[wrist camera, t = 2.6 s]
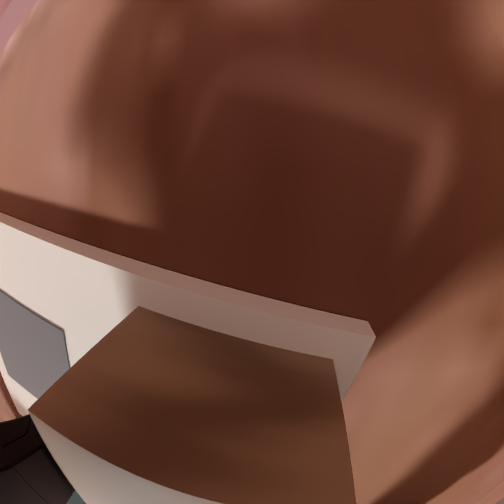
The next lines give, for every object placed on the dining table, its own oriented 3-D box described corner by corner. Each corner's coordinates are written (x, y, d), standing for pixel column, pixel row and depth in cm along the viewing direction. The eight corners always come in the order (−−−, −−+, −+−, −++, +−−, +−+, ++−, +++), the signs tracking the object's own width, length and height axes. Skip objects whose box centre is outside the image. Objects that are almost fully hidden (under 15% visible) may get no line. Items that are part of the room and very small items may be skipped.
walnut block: (332, 359, 7) (356, 513, 3) (276, 461, 9) (264, 561, 4) (138, 305, 8) (27, 409, 3) (139, 422, 9) (89, 506, 5)
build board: (368, 321, 8) (376, 339, 7) (253, 508, 12) (251, 520, 11) (-17, 205, 9) (-31, 208, 8) (25, 406, 14) (18, 413, 12)
